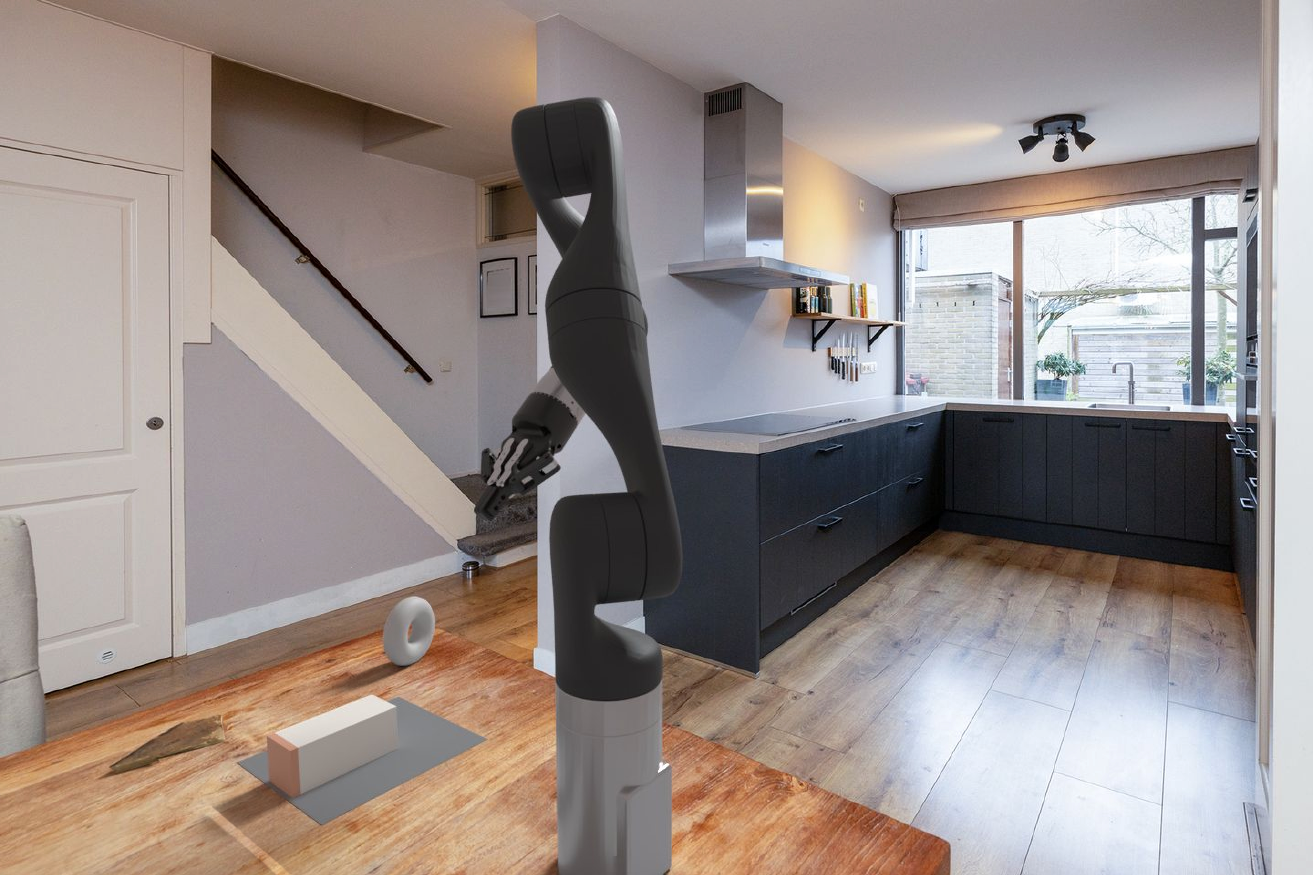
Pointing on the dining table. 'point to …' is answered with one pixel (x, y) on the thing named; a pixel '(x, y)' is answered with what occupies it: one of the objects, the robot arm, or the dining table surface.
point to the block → (331, 744)
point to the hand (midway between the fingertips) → (482, 516)
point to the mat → (380, 764)
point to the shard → (175, 742)
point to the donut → (397, 631)
